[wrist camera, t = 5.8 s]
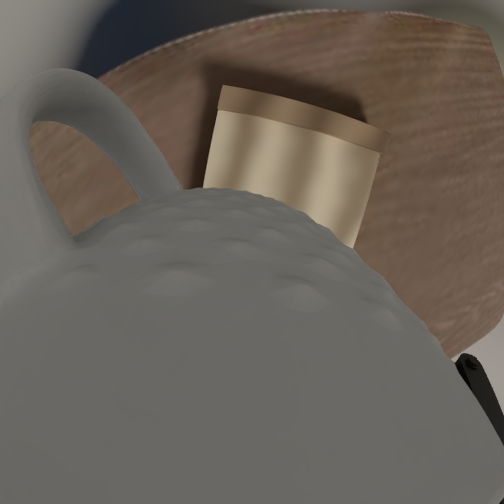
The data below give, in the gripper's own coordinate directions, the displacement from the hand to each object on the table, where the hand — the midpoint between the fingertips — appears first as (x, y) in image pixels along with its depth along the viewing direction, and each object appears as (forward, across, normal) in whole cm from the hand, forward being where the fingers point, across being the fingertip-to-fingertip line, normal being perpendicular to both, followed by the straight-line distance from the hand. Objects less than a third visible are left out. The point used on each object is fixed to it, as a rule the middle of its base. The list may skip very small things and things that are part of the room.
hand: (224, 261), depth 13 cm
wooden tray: (+19, +6, 0) cm, 20 cm away
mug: (+1, -1, 0) cm, 1 cm away
